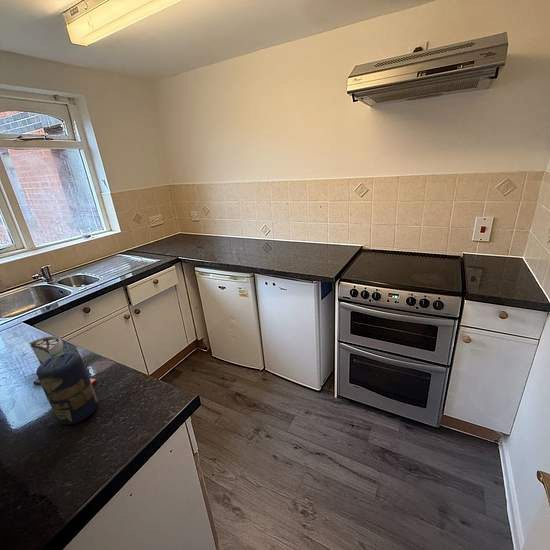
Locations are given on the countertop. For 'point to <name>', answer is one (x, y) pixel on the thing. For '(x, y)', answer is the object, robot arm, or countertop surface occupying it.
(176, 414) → the countertop surface
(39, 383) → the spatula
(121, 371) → the countertop surface
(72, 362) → the canister
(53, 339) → the food container
